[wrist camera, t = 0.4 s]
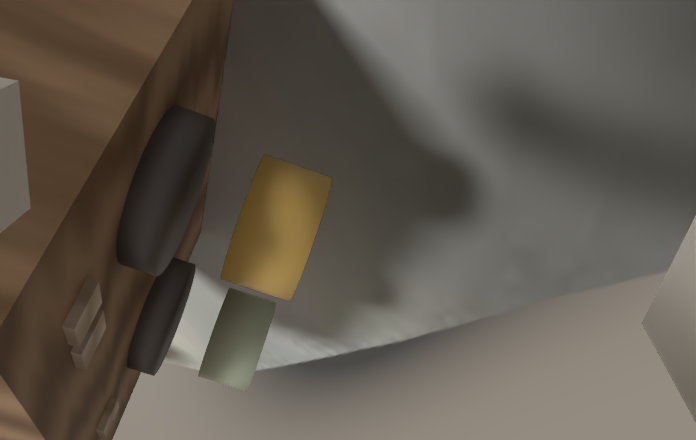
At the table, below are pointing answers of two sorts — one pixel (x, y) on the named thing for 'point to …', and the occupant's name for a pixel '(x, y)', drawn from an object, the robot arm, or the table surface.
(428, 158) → the table surface
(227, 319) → the sage button
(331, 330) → the table surface
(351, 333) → the table surface
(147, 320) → the console
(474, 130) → the table surface
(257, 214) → the ochre button
